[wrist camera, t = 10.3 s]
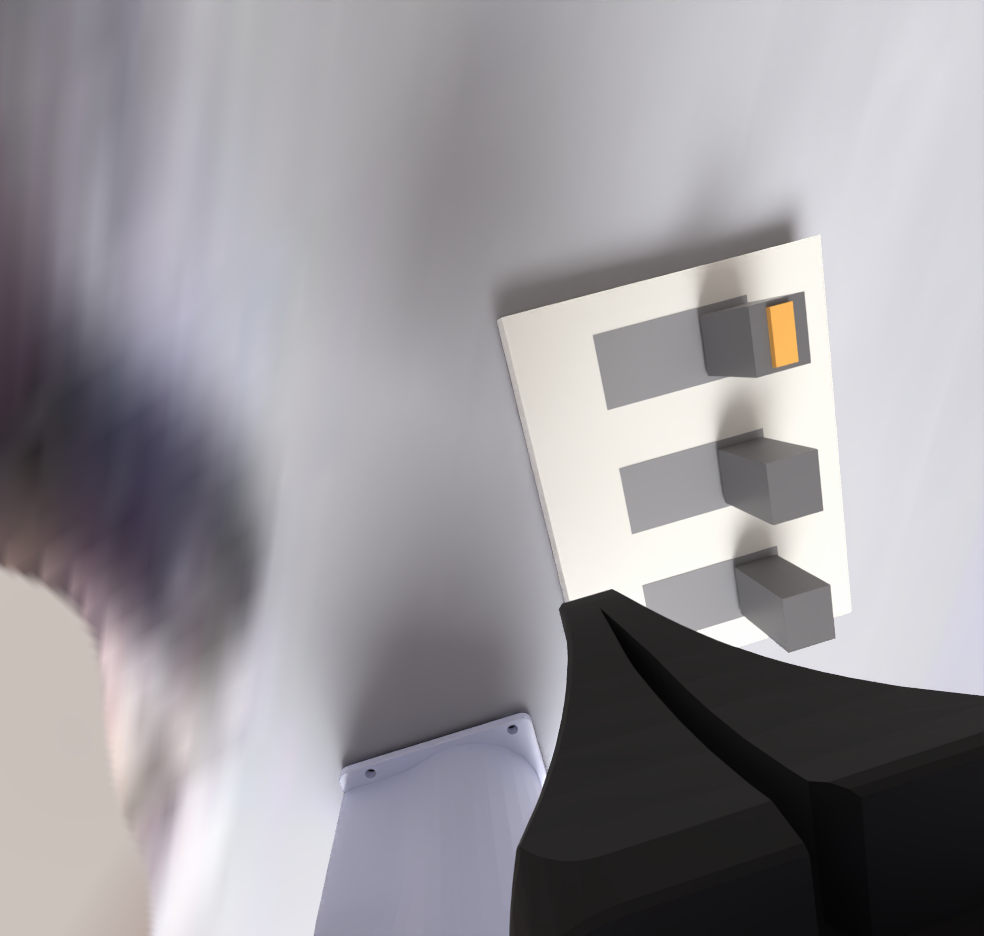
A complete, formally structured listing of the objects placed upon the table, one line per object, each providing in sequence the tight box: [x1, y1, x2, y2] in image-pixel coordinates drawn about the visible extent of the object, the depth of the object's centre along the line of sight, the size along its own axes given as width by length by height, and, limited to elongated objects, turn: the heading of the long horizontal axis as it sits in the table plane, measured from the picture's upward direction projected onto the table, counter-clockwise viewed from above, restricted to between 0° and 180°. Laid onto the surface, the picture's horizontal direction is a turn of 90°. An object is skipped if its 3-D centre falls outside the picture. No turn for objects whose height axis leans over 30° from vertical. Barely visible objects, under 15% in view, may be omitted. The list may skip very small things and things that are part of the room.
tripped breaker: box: [699, 291, 811, 378], centre depth 17 cm, size 2×2×3 cm
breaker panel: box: [497, 235, 852, 653], centre depth 19 cm, size 13×17×5 cm
